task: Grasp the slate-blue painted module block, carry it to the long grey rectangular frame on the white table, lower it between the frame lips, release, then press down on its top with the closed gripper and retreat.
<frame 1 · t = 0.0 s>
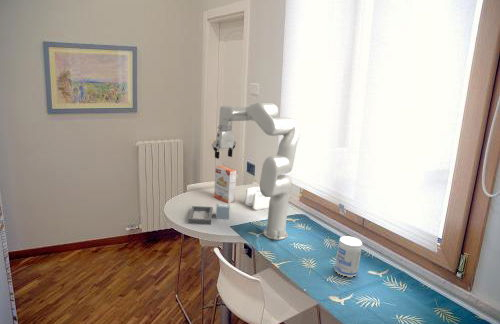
hand: (223, 157, 214), 31 cm above the table, tool pointing down, fingers open, 9 cm apart
supplement tub: (345, 272, 158), on the table
grey rectangular frame: (200, 216, 205), on the table
cable organizer: (259, 207, 228), on the table
cracker box: (224, 200, 236), on the table
module: (222, 217, 207), on the table
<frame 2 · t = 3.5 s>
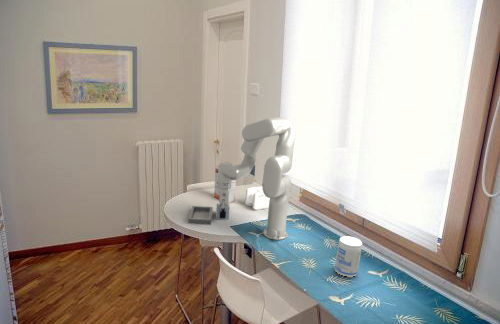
hand: (222, 215, 207), 1 cm above the table, tool pointing down, fingers closed on module, 5 cm apart
module: (222, 217, 207), on the table, touching gripper
everything else where it was.
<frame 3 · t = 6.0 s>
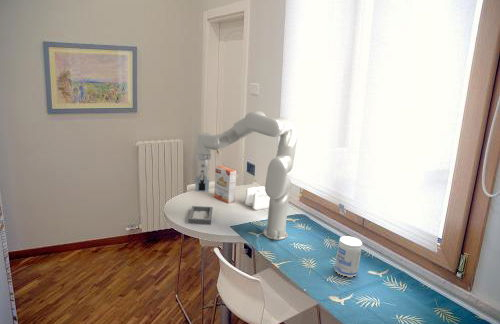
hand: (202, 188, 202), 17 cm above the table, tool pointing down, fingers closed on module, 5 cm apart
module: (202, 190, 202), point 16 cm above the table, touching gripper
everything else where it was.
when the fingers open (2 cm above the table, at t = 9.0 s): module stays where it is, resting in grey rectangular frame.
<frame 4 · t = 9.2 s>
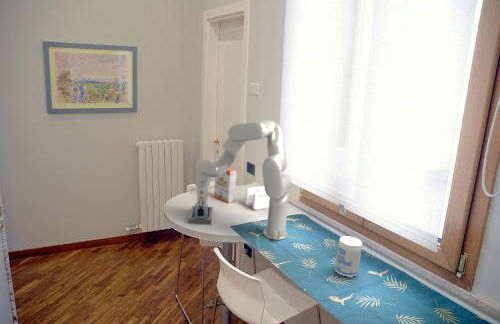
hand: (201, 213, 205), 2 cm above the table, tool pointing down, fingers open, 7 cm apart
module: (201, 217, 205), resting in grey rectangular frame
everything else where it was.
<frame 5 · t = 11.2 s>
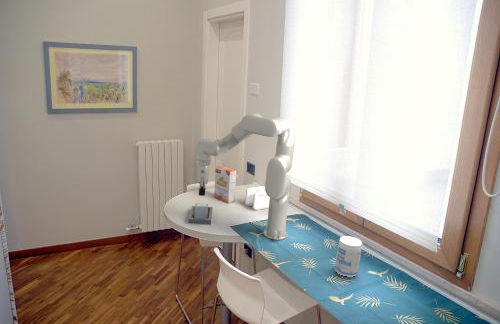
hand: (201, 194, 202), 13 cm above the table, tool pointing down, fingers closed
nothing on the table moved.
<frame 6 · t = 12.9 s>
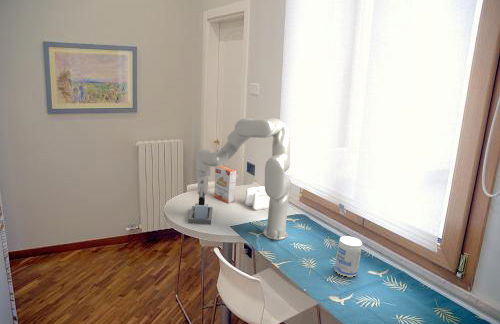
hand: (201, 204, 204), 7 cm above the table, tool pointing down, fingers closed
nothing on the table moved.
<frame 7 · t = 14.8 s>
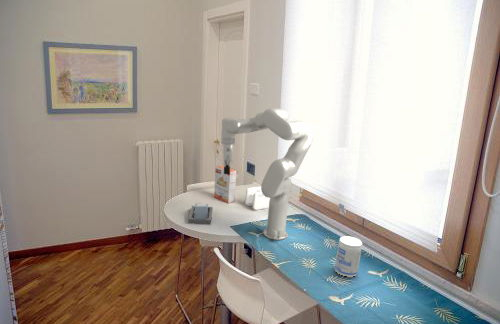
hand: (226, 173, 205), 24 cm above the table, tool pointing down, fingers closed
nothing on the table moved.
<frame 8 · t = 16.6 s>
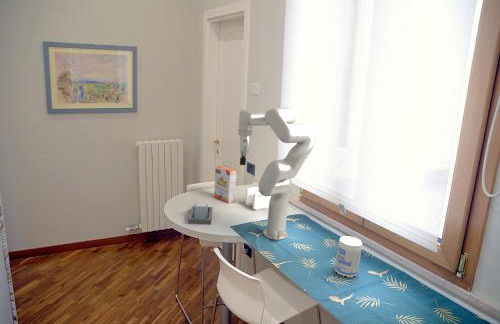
hand: (242, 164, 209), 29 cm above the table, tool pointing down, fingers closed
nothing on the table moved.
at the end: module inside the target area on the grey rectangular frame (0.1 cm from its centre), point 0.0 cm above the grey rectangular frame's base; module tilted 0°; the gripper is holding nothing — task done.
